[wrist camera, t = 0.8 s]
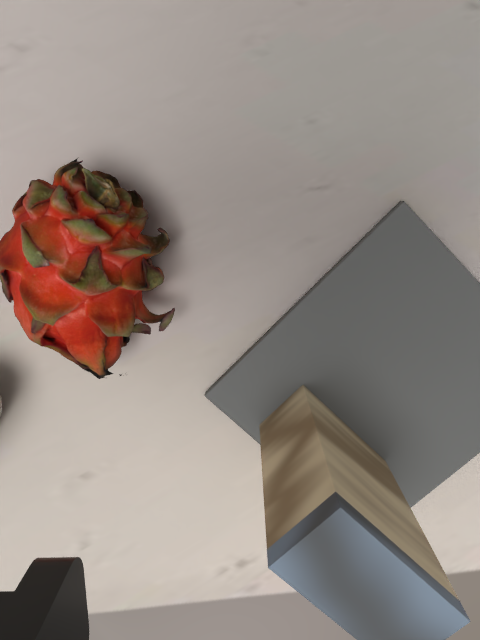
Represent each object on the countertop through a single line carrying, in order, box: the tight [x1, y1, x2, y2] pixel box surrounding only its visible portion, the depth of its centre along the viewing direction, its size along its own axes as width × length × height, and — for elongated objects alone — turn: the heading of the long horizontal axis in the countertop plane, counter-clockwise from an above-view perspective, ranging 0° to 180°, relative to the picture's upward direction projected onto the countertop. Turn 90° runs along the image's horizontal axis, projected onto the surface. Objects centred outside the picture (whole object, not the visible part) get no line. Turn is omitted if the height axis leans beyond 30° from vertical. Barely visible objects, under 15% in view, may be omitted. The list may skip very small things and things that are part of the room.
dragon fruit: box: [0, 158, 175, 379], centre depth 25 cm, size 8×8×12 cm
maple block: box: [259, 385, 470, 640], centre depth 25 cm, size 4×8×12 cm, turn 46°
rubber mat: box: [205, 201, 480, 508], centre depth 30 cm, size 17×16×1 cm
